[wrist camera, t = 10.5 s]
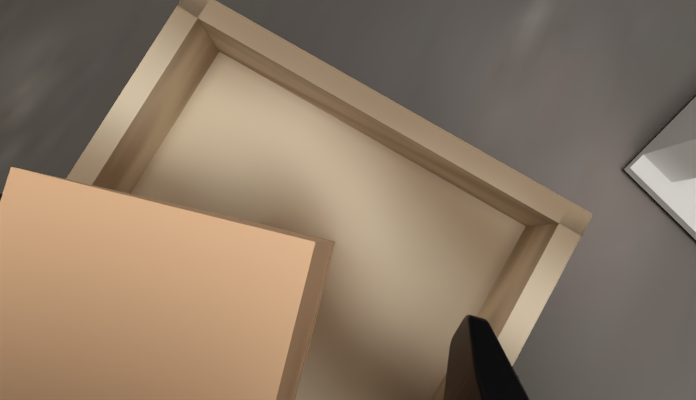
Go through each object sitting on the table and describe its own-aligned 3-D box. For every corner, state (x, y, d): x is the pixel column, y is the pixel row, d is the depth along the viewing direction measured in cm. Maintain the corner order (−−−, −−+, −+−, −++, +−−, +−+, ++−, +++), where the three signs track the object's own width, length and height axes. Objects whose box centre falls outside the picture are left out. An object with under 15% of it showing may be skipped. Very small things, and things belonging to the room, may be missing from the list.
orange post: (305, 363, 17) (189, 752, 4) (224, 343, 17) (-149, 665, 4) (336, 241, 17) (317, 240, 4) (256, 221, 17) (9, 164, 4)
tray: (354, 578, 17) (357, 659, 14) (5, 366, 17) (-73, 395, 14) (547, 219, 18) (592, 214, 15) (216, 31, 19) (189, -15, 15)
